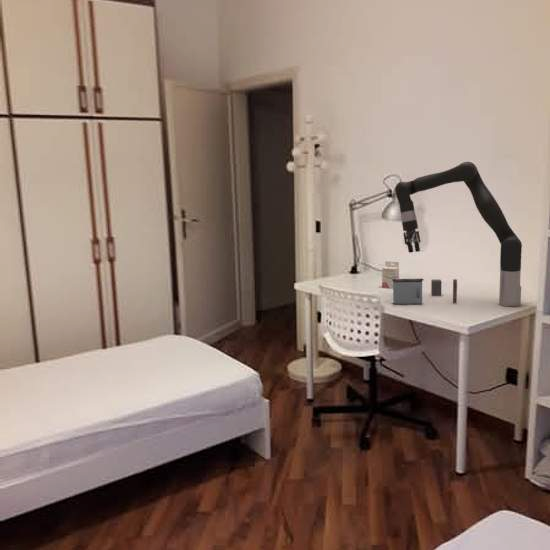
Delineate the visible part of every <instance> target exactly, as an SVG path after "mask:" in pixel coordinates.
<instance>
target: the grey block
mask: <svg viewBox="0 0 550 550" xmlns="http://www.w3.org/2000/svg"><path fill="white" fill-rule="evenodd" d="M410 304H411V305H412V304H413V305H416V304H417V305H419V304H420V305H421V304H423V281H422V282H394V305H410Z"/></svg>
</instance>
